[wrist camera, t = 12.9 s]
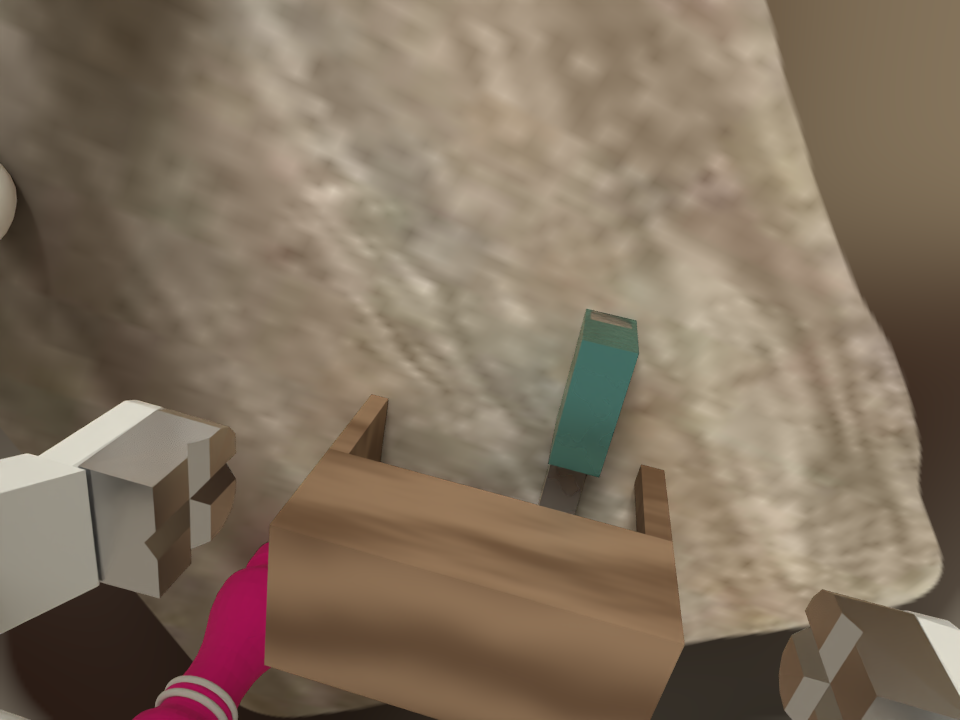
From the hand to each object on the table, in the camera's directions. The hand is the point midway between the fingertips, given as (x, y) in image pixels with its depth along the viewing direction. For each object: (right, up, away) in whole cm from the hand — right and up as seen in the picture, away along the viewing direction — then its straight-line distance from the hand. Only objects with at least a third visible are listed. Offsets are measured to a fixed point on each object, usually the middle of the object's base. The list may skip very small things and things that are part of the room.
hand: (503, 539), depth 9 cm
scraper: (+6, -4, +33) cm, 34 cm away
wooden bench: (+1, -7, +35) cm, 36 cm away
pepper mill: (-16, -14, +43) cm, 48 cm away
